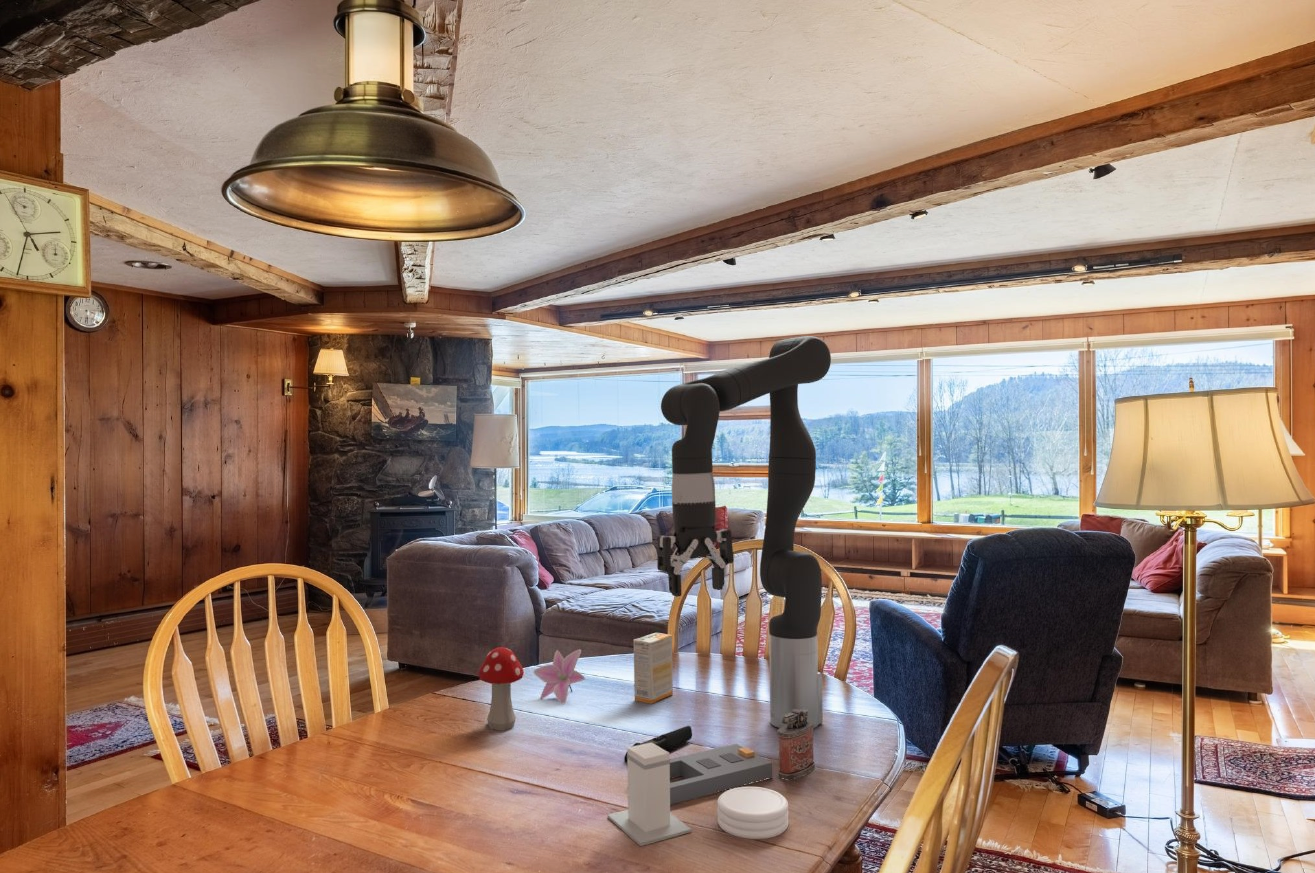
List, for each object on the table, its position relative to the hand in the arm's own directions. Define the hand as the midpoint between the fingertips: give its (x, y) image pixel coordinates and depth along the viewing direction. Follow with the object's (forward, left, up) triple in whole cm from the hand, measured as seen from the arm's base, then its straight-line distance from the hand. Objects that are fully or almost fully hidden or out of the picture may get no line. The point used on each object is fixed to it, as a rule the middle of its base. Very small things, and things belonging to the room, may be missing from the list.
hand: (697, 592), depth 140 cm
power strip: (+5, +9, -28) cm, 30 cm away
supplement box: (-10, -34, -29) cm, 46 cm away
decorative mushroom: (+24, -34, -29) cm, 51 cm away
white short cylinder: (+7, +25, -29) cm, 39 cm away
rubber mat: (+20, +18, -28) cm, 39 cm away
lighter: (-10, +14, -29) cm, 33 cm away
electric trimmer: (+5, -6, -29) cm, 30 cm away
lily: (+7, -46, -29) cm, 54 cm away
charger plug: (+20, +18, -28) cm, 39 cm away
